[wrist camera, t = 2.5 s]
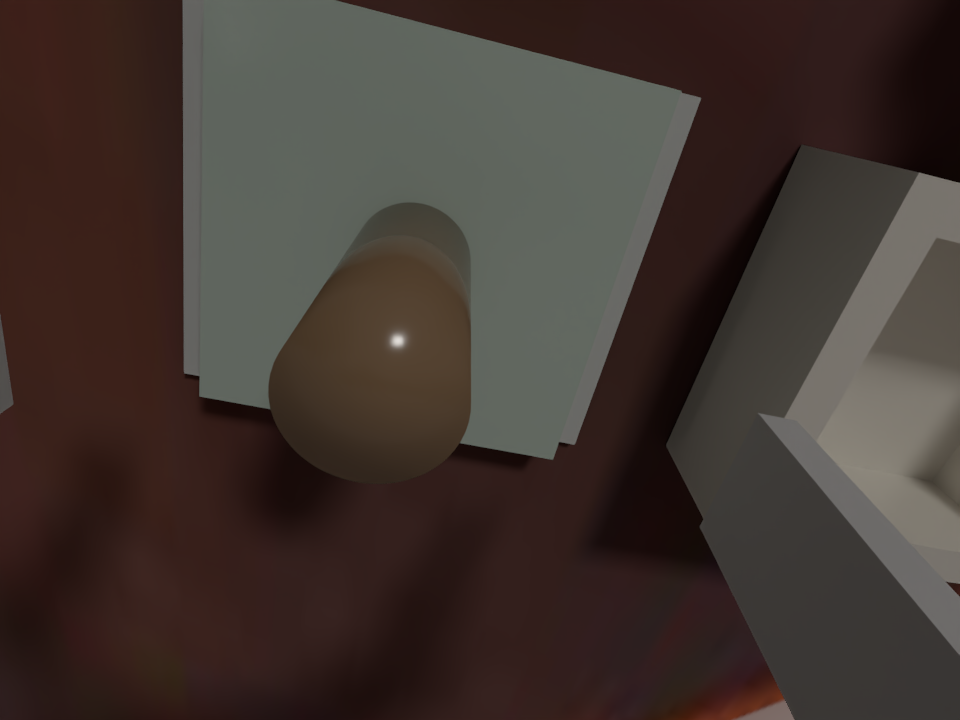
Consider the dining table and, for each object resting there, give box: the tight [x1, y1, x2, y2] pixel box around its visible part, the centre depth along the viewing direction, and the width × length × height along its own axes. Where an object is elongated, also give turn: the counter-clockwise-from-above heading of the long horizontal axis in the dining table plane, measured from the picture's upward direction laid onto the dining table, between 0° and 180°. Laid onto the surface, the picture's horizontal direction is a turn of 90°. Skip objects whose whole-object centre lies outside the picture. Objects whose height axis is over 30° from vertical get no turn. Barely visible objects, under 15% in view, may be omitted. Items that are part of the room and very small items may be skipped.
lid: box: [199, 0, 681, 484], centre depth 14 cm, size 12×12×9 cm
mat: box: [183, 0, 701, 445], centre depth 18 cm, size 14×12×1 cm
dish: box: [666, 145, 960, 584], centre depth 18 cm, size 11×11×5 cm
